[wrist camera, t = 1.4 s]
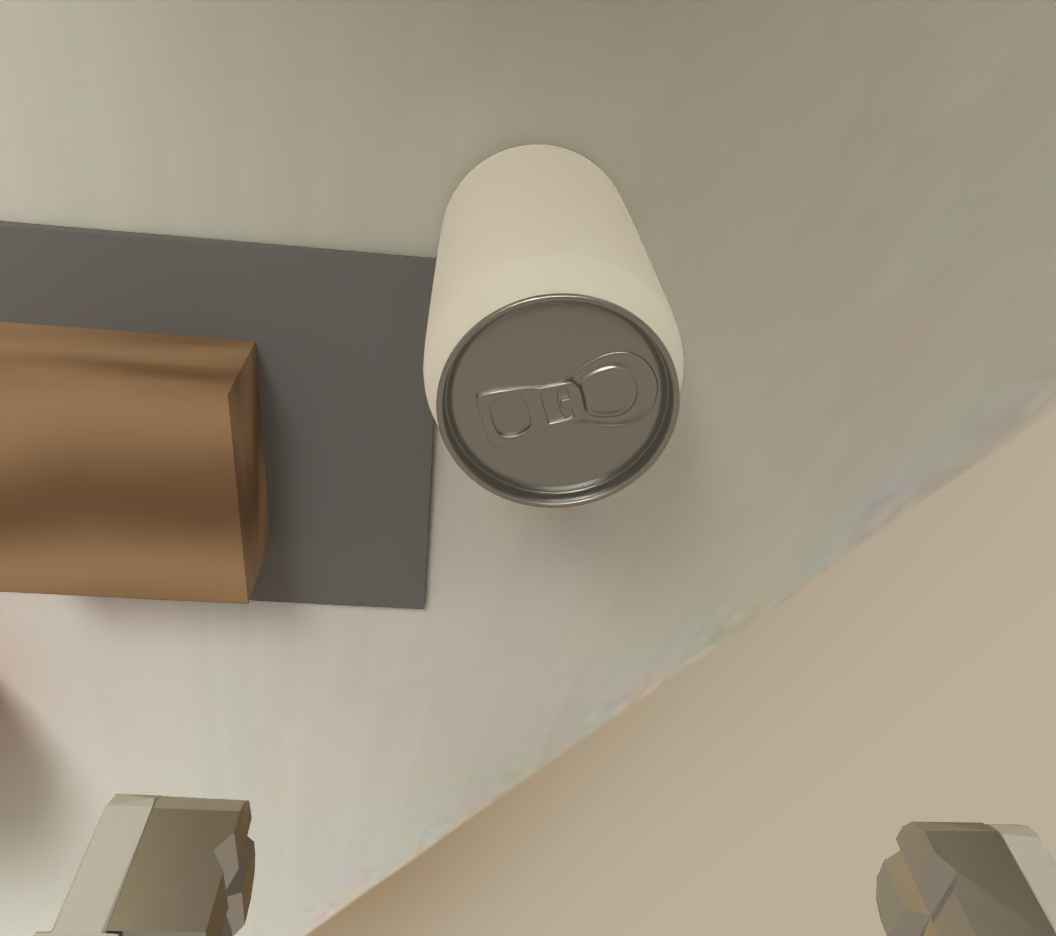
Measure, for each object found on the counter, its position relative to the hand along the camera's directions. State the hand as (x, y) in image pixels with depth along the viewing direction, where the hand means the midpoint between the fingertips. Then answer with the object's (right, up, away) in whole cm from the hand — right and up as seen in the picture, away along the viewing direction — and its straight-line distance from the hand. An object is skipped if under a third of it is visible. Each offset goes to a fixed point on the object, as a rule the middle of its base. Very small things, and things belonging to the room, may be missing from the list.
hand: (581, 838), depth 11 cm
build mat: (-15, +6, +23) cm, 28 cm away
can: (0, +13, +19) cm, 23 cm away
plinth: (-15, +6, +23) cm, 28 cm away
